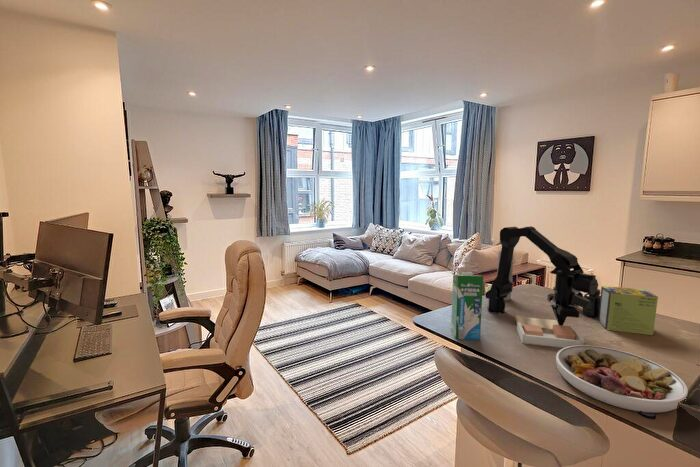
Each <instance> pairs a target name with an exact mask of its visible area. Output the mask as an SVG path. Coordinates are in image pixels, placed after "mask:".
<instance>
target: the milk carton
mask: <svg viewBox="0 0 700 467" xmlns="http://www.w3.org/2000/svg"><path fill="white" fill-rule="evenodd" d="M483 288H484V275H479V274H478V275H477V274H476V275H473V272H471V271H462V272H461V274H453V275H452V295H451V296H452V298H451V300H452V301H451V320H450V324H451V325H450V329H451V331H452V334H453V337H454V338H455V340H472V341H473V340H475V341H480V340H481V329H482V328H481V326H482V310H483V309H482V306H483Z"/></svg>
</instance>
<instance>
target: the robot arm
mask: <svg viewBox="0 0 700 467" xmlns="http://www.w3.org/2000/svg"><path fill="white" fill-rule="evenodd" d="M521 237H525V238H527V240H529V241H530V242H531V243H532V244H533V245H535V246H536V247H537V248H538V249H540V251H542V253H544V254H545V255H546V256H547V257H548V258H549V261H550V263H551V264H552V265H553V266H554V267H555V268H553V270H551V271H550V272H549V273H550V274H553V275H555V283H554V284H555V285H554V287H552V288H553V289H552V290H553V292H554V291H555V293H549V294H547V299H546V301H548V302H549V303H551V301H552V302H553V304H551V306H550V307H551V309H552V311H553V315H554V316H555V320H557V322H558V325H563V324H564V322H565V323H566V320H567V318H578V319H579V318H580V314H581V313H580V311H579V310H578V308H575V307H574V305H575V304H576V305H578V306H579V307H581V308H582V309H583V308H584V309H587V307H588V305H589V303H590V301H589V300H588V299H587V298H585V297H584V294H583V293H585V294H587V293H588V294H595V293H596V291H597V289H599V283H598V279H597V276H596V275H594V274H587V273H585V270H583V268H582V267H581V266H580V264H579V260H578V257H577V256H576V255H575V254H573V253H571V252H569V251H568V250H565V249H562V248H560V247H558V246H557V245H556V244H554V243H553V242H552V241H550V240H549V238H547V237H546V236H545V235H543V234H542V233H541V232H539V230H537V229H536V227H534V226H532V225H531V226H524V227H520V228H519V227H517V226H507V227H503V228H501V229H500V231H499V241H500V245H501V249H500V250H501V255H500V261H499V267H498V266H497V268H498V273H496V277H495V278H494V280H493V281H492V283H491V286H490V289H489V290H487V291H486V292H485V293H484V295H485V298H486V299H488V301H487V311H488V313H493V314H494V313H495V314H505V313H504V312H505V311H506V301H504V298H507V295H508V294H510V292H511V291H512V292H513V290H512V286H513V287H514V282H513V283H511V282H510V280H509V274H510V268H511V263H512V262H513V261H512V257H513V258H514V251H515V247H516V246H517V245H518V243H519V242H520V239H521ZM573 288H574V290H577V292H576V293H575V292H574V291H573ZM578 291H580V292H578ZM512 292H511V293H512ZM569 305H571V306H569Z"/></svg>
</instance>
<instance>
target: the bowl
mask: <svg viewBox="0 0 700 467" xmlns="http://www.w3.org/2000/svg"><path fill="white" fill-rule="evenodd" d="M555 361H556V362H555V363H556V367H557V369H558V371H559V373H560V374H561V376H562V377H563V378H564V379H565V380H566V382H568V383H569V384H570V385H572V387H574V388H576V389H577V390H578V391H580V392H582V393H583V394H585V395H587V396H588V397H591V398H593V399H595V400H597V401H600V402H603V403H605V404H608V405H610V406H614V407H618V408H621V409H626V410H630V411H634V412H640V411H642V413H666V412H669V411H675V410H676V409H678V408H677V405H678V402H680V401H682V400H684V399H686V400H687V398H688V393H689V390H688V386H687V384H686V383H685V382H684V380H683V379H682V378H680V377H679V376H678V375H677V374H676V373H674V372H673V371H671V370H670V369H668V368H667V367H665V366H663V365H661V364H659V363H657V362H654V361H653V360H650V359H648V358H645V357H643V356H639V355H637V354H634V353H631V352H628V351H624V350H620V349H616V348H611V347H605V346H598V345H589V344H586V345H575V346H568V347H565V348H560V349H559V350H558V351H557V353H556V356H555ZM686 397H687V398H686Z"/></svg>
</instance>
